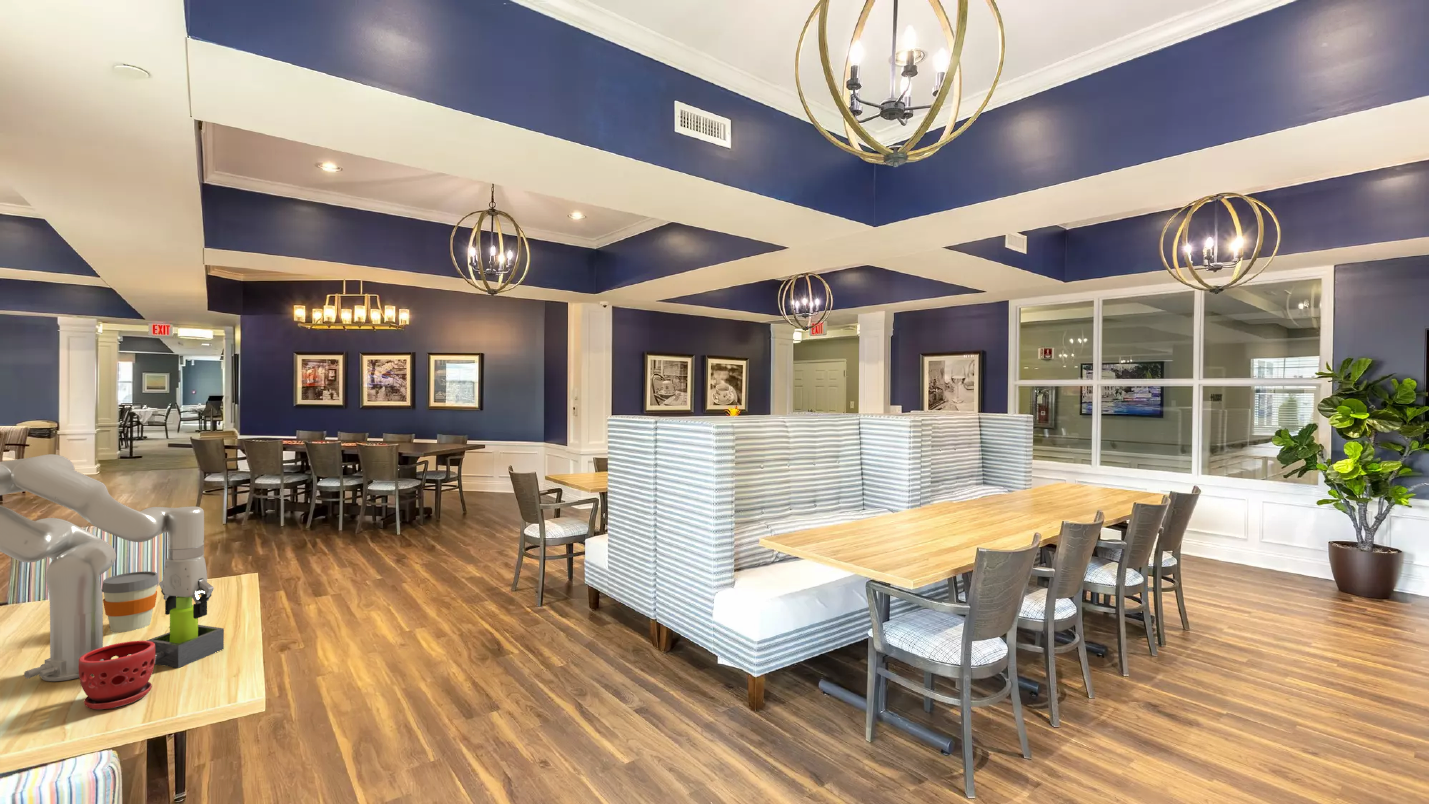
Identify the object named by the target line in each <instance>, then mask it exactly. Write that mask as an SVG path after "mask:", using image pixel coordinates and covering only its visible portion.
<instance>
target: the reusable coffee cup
mask: <svg viewBox="0 0 1429 804" xmlns="http://www.w3.org/2000/svg"><path fill="white" fill-rule="evenodd" d="M158 584H159V577H158V573H157V572H156V571H145V570H144V571H134V572H125V573H121V574H117V575H112V576H109V577H107V578H105V579H103V581H102V585H101V589H102V593H103V597H104V598H103V610H104V614H105V615H106V616H107V620H108V624H109V631H110V632H112V633H125V632H132V631H137V630H141V629H142V628H145V626H146V627H148V626H149V625H150V624H151V622H152V615H153V609H154V608H155V607H156V603H157V596H158V591H157V586H158ZM136 629H137V630H136Z"/></svg>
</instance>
